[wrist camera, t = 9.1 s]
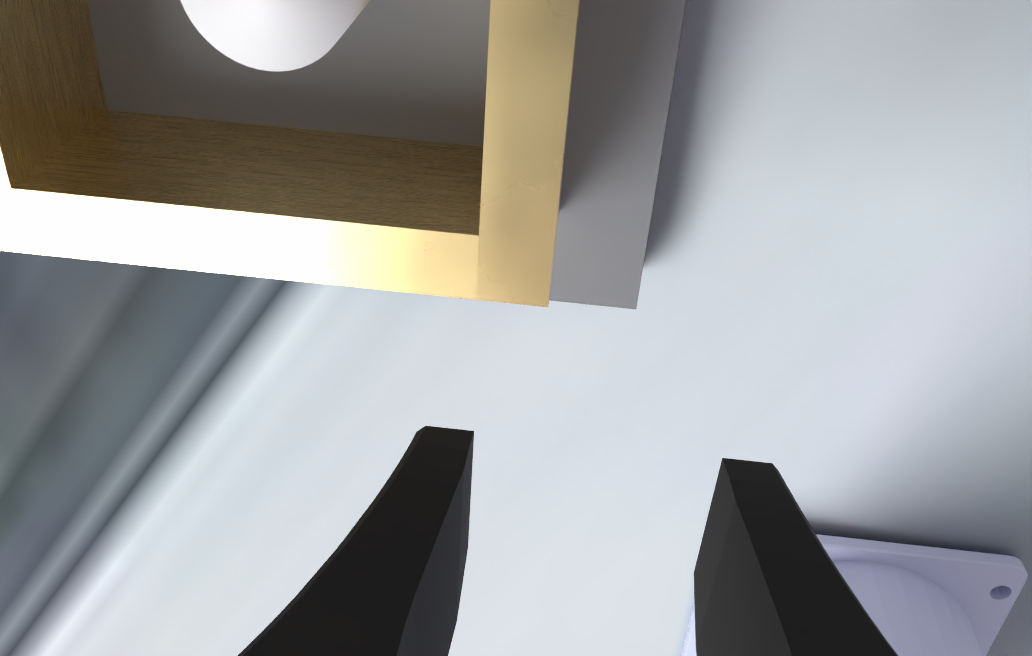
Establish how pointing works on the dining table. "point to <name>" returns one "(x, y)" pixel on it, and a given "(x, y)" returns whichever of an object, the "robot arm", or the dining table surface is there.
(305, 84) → the grey piece
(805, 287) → the dining table surface
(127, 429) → the dining table surface
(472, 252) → the gold square frame
